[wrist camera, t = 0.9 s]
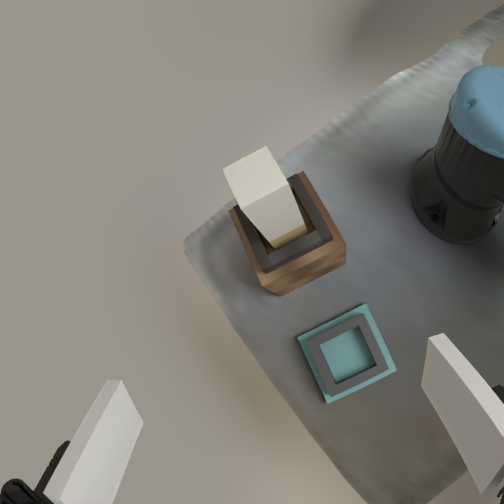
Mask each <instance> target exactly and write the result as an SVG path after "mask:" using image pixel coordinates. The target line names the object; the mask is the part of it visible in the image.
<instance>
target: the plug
mask: <svg viewBox="0 0 504 504" xmlns="http://www.w3.org/2000/svg"><path fill="white" fill-rule="evenodd" d="M222 170H223V172H224V175H225V176H226V179H227V181H228V183H229V185H230V187H231V189H232V192H233V194H234V196H235V198H236V200H237V202H238V205H239V207H240V209H241V210H242V211H243V212H244V214H245V215H246V216H247V217H248V218H249V219H250V221H251V222H252V223H253V224H254V225H255V226H256V227H257V229H258V230H259V231H260V232H261V233H262V234H263V236H264V237H265V238H266V239H267V240H268V241H269V243H270V244H271V245H272V246H273V247H274V248H275V250H276V249H278V248H280V247H282V246H284V245H286V244H288V243H289V242H291V241H293V240H295V239H297V238H299V237H301V236H303V235H305V234H307V233H308V231H307V228H306V226H305V223H304V221H303V218H302V216H301V213H300V210H299V208H298V205H297V203H296V201H295V198H294V196H293V193H292V191H291V188H290V186H289V183H288V182H287V180H286V178H285V177H284V175H283V173H282V171H281V170H280V168H279V166H278V164H277V163H276V161H275V159H274V158H273V156H272V154H271V153H270V151H269V149H268V148H267V146H265V147H263V148H261V149H259V150H257V151H255V152H253V153H251V154H249V155H248V156H246V157H244V158H242V159H240V160H238V161H236V162H235V163H233V164H231V165H229V166H228V167H226V168H224V169H222Z"/></svg>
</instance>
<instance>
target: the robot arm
mask: <svg viewBox="0 0 504 504" xmlns="http://www.w3.org/2000/svg"><path fill="white" fill-rule="evenodd" d="M410 195H411V200H412V204H413V207H414V209H415V211H416V213H417V215H418V217H419V218H420V220H421V221H422V223H423V224H424V225H425V226H426V227H427V228H428V229H429V230H430V231H431V232H432V233H433V234H435V235H436V236H438V237H439V238H441V239H443V240H445V241H447V242H450V243H454V244H470V243H474V242H476V241H478V240H480V239H482V238H483V237H484V236H486V235H487V234H488V233H489V232H490V231H491V230H492V229H493V228H494V226H495V225H496V223H497V221H498V219H499V217H500V213H501V210H502V207H503V204H504V67H499V66H491V67H487V66H480V67H477V68H474V69H472V70H470V71H469V72H467V73H466V74H465V75H464V76H463V77H462V79H461V80H460V82H459V85H458V87H457V90H456V92H455V94H454V95H453V96H452V98H451V100H450V103H449V110H448V114H447V117H446V120H445V123H444V126H443V129H442V132H441V134H440V137H439V139H438V142H437V144H436V145H435V146H434V147H433V148H431V149H430V150H428V151H427V152H425V153H424V154H423V155H422V156H421V158H420V159H419V160H418V162H417V164H416V166H415V168H414V171H413V174H412V177H411V181H410ZM421 387H422V389H423V390H424V392H425V393H426V395H427V397H428V398H429V400H430V402H431V403H432V405H433V407H434V409H435V410H436V412H437V414H438V415H439V417H440V419H441V421H442V422H443V424H444V426H445V428H446V429H447V431H448V433H449V435H450V436H451V438H452V440H453V442H454V444H455V445H456V447H457V449H458V451H459V453H460V455H461V456H462V458H463V460H464V462H465V464H466V466H467V468H468V470H469V472H470V473H471V476H472V477H473V479H474V481H475V483H476V485H477V487H478V489H479V491H480V493H481V494H483V493H485V492H487V491H489V490H490V489H492V488H494V487H496V486H498V484H499V483H500V482H501V481H502V479H503V478H504V387H502V386H500V385H497V386H495V387H493V388H490V387H489V385H488V384H487V383H486V382H485V380H484V379H483V378H482V377H481V376H480V374H479V373H478V372H477V371H476V370H475V369H474V367H473V366H472V365H471V364H470V363H469V362H468V360H467V359H466V358H465V357H464V356H463V355H462V353H461V352H460V351H459V350H458V349H457V348H456V347H455V346H454V344H453V343H452V342H451V341H450V340H449V339H448V338H447V337H446V336H445V334H444V333H442V334H439V335H435V336H432V337H428V344H427V352H426V359H425V365H424V371H423V377H422V382H421ZM142 425H143V421H142V419H141V417H140V415H139V414H138V412H137V410H136V408H135V406H134V404H133V402H132V400H131V398H130V396H129V394H128V393H127V390H126V389H125V386H124V384H123V382H122V381H121V380H107V382H106V383H105V385H104V387H103V388H102V390H101V391H100V393H99V395H98V396H97V398H96V400H95V401H94V403H93V405H92V406H91V408H90V410H89V411H88V413H87V415H86V416H85V418H84V420H83V422H82V423H81V425H80V427H79V428H78V430H77V432H76V434H75V435H74V437H73V439H72V441H66V442H64V443H63V444H62V445H61V446H60V447H59V448H58V449H57V451H56V453H55V455H54V456H53V459H52V460H51V462H50V463H49V466H48V467H47V468H46V471H45V472H44V474H43V476H42V478H41V479H40V481H39V483H38V485H37V487H36V488H35V490H34V491H33V490H31V489H30V488H29V487H28V486H27V485H26V484H25V483H24V482H23V481H22V480H20V479H11V480H9V481H7V482H6V483H5V484H4V485H3V487H2V490H1V494H0V504H113V501H114V498H115V496H116V493H117V490H118V487H119V485H120V482H121V479H122V477H123V474H124V471H125V469H126V466H127V464H128V461H129V458H130V456H131V453H132V451H133V448H134V445H135V443H136V440H137V438H138V435H139V432H140V430H141V427H142ZM502 493H503V495H502V499H501V502H500V504H504V487H503V488H502V489H501V490H500V492H499V493H498V495H497V497H500V495H501V494H502Z"/></svg>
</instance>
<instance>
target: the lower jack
mask: <svg viewBox="0 0 504 504" xmlns="http://www.w3.org/2000/svg"><path fill="white" fill-rule="evenodd" d="M297 338H298V340H299V342H300V344H301V346H302V349H303V351H304V353H305V355H306V357H307V360H308V362H309V364H310V366H311V369H312V371H313V373H314V375H315V377H316V380H317V382H318V384H319V386H320V388H321V391H322V393H323V395H324V397H325V400H326V402H327V404H328V403H330V402H333V401H335V400H337V399H339V398H342V397H344V396H346V395H348V394H350V393H353V392H355V391H357V390H359V389H361V388H363V387H365V386H367V385H369V384H371V383H373V382H375V381H377V380H379V379H381V378H383V377H385V376H387V375H389V374H391V373H393V372H394V371H396V367H395V365H394V363H393V360H392V358H391V356H390V354H389V351H388V349H387V347H386V345H385V343H384V340H383V338H382V336H381V334H380V332H379V330H378V327H377V325H376V323H375V321H374V319H373V317H372V315H371V313H370V311H369V309H368V307H367V305H366V303H365V304H363V305H361V306H359V307H357V308H355V309H353V310H352V311H350V312H348V313H346V314H344V315H342V316H340V317H338V318H336V319H334V320H332V321H330V322H328V323H326V324H324V325H322V326H320V327H318V328H316V329H313V330H311V331H309V332H307V333H305V334H303V335H301V336H299V337H297Z"/></svg>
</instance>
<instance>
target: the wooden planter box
mask: <svg viewBox="0 0 504 504" xmlns="http://www.w3.org/2000/svg"><path fill="white" fill-rule="evenodd" d="M286 180H287V182H288V183H289V186H290V188H291V191H292V193H293V196H294V198H295V201H296V203H297V205H298V208H299V210H300V213H301V216H302V218H303V221H304V223H305V226H306V228H307V231H308V233H307V234H305V235H303V236H301V237H299V238H297V239H295V240H293V241H291V242H289V243H288V244H286V245H284V246H282V247H280V248H278V249H276V250H275V248H274V247H273V246H272V245H271V244H270V243H269V241H268V240H267V239H266V238H265V237H264V236H263V234H262V233H261V232H260V231H259V230H258V229H257V227H256V226H255V225H254V224H253V223H252V222H251V221H250V219H249V218H248V217H247V216H246V215H245V214H244V212H243V211H242V210H241V209H240V207H239V205H236V206H234V207H233V209H231V210H229V213H230V215H231V218H232V220H233V222H234V224H235V227H236V229H237V231H238V233H239V236H240V238H241V240H242V242H243V245H244V247H245V249H246V251H247V254H248V256H249V258H250V260H251V263H252V265H253V267H254V269H255V272H256V274H257V276H258V278H259V281H260V283H261V285H262V287H264V288H266V289H268V290H270V291H271V292H273V293H275V294H277V295H279V296H282V295H285V294H287V293H289V292H291V291H293V290H295V289H297V288H299V287H301V286H303V285H305V284H307V283H309V282H311V281H313V280H315V279H316V278H318V277H320V276H322V275H324V274H326V273H328V272H330V271H332V270H334V269H336V268H338V267H340V266H342V265H344V264H345V263H346V244H345V242H344V240H343V238H342V236H341V234H340V233H339V231H338V229H337V227H336V226H335V224H334V222H333V220H332V218H331V217H330V215H329V213H328V211H327V210H326V208H325V206H324V205H323V203H322V201H321V199H320V198H319V196H318V194H317V193H316V191H315V189H314V188H313V186H312V184H311V183H310V181H309V179H308V178H307V176H306V175H305V173H304V171H303V172H301V173H299V174H295V175H293V176H291V177H289V178H287V179H286Z"/></svg>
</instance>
